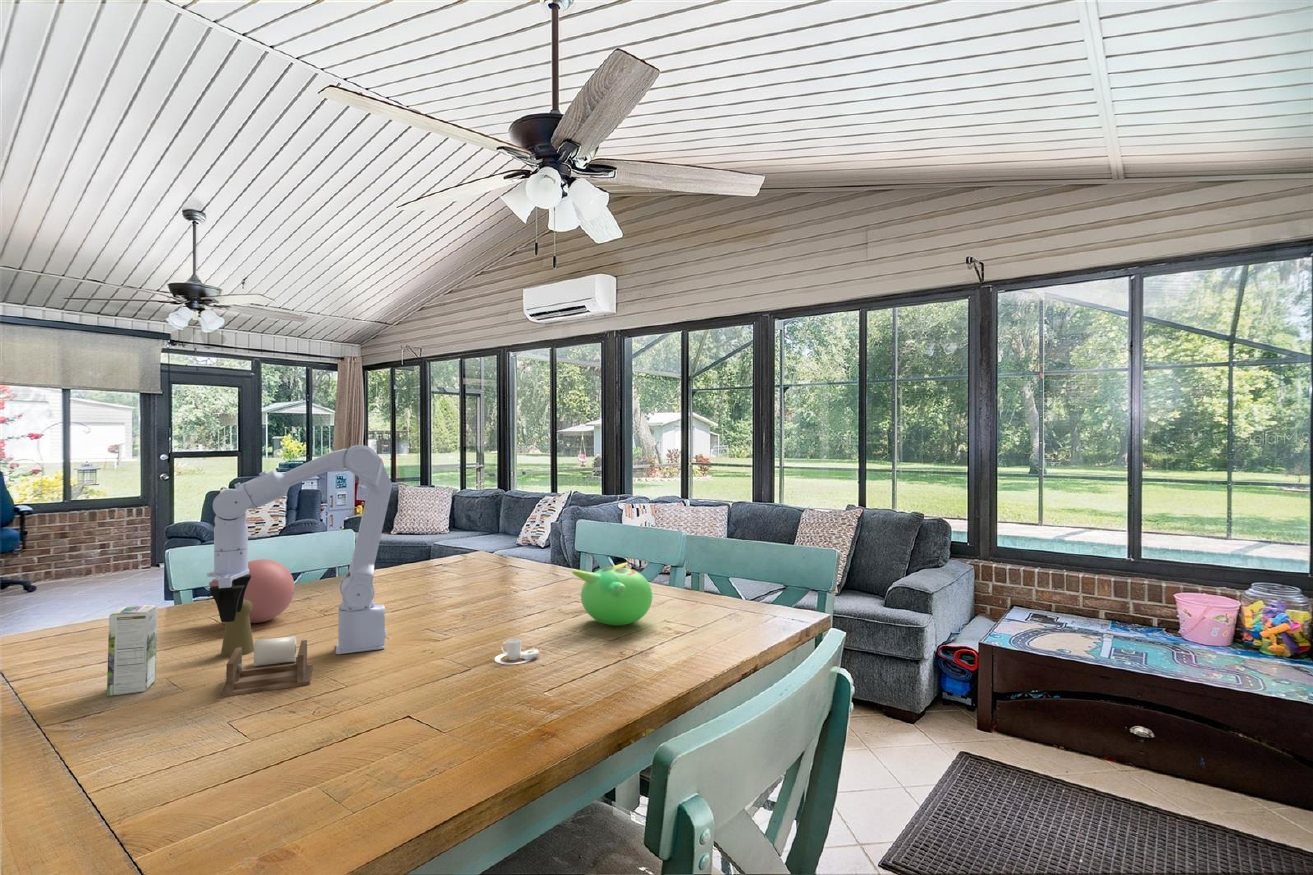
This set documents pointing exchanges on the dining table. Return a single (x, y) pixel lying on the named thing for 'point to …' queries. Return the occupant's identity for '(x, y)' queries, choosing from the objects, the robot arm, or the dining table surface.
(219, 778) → the dining table surface
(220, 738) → the dining table surface
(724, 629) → the dining table surface
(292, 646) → the roll
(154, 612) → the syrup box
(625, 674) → the dining table surface
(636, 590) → the toy bird
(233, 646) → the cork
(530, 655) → the teacup and saucer
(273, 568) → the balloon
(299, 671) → the holder
